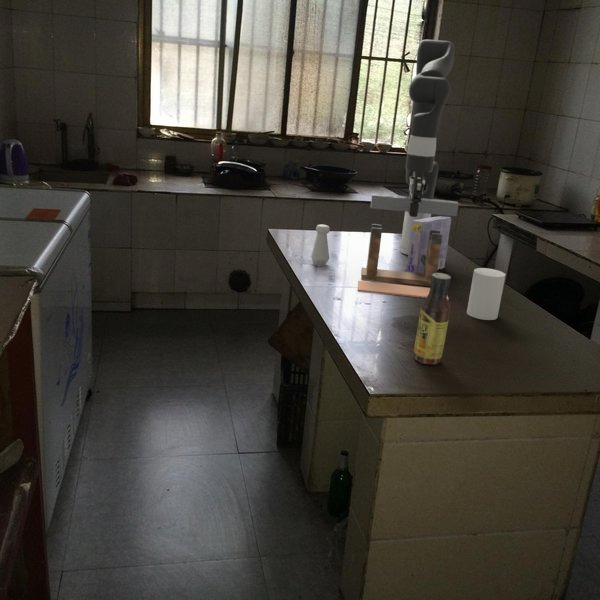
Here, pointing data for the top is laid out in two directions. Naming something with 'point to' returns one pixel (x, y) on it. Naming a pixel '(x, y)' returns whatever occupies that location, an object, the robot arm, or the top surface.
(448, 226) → the cake pan box
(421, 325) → the sauce bottle
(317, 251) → the salt shaker
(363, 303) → the top surface
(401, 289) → the mat
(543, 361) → the top surface
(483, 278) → the cup
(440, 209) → the rail
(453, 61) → the robot arm
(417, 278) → the rack
